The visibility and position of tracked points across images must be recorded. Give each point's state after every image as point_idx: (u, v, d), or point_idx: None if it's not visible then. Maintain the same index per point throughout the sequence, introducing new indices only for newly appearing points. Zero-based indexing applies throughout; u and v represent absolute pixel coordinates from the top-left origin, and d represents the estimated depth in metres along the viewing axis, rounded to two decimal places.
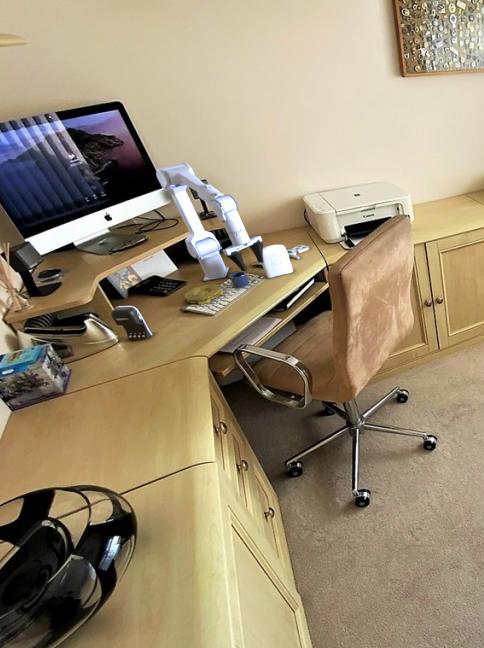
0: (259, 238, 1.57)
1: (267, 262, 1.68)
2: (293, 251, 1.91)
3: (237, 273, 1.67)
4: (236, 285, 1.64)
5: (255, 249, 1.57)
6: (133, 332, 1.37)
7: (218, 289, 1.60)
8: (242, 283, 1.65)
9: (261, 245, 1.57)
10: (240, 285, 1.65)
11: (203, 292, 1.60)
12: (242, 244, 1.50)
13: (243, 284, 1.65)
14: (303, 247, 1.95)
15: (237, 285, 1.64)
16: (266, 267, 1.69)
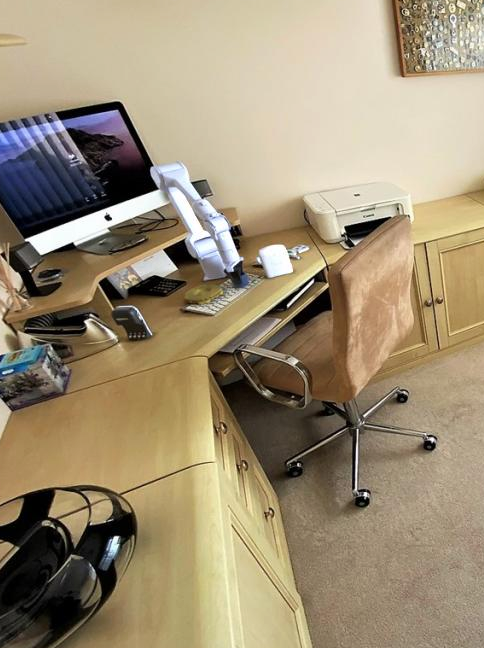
0: None
1: (267, 262, 1.68)
2: (293, 251, 1.91)
3: None
4: (236, 285, 1.64)
5: (236, 265, 1.66)
6: (133, 332, 1.37)
7: (218, 289, 1.60)
8: (242, 283, 1.65)
9: (242, 261, 1.67)
10: (240, 285, 1.65)
11: (203, 292, 1.60)
12: (237, 260, 1.61)
13: (243, 284, 1.65)
14: (303, 247, 1.95)
15: (237, 285, 1.64)
16: (266, 267, 1.69)
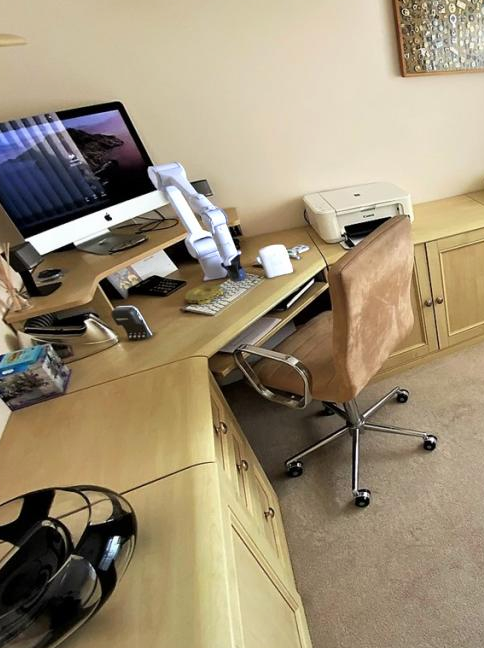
0: None
1: (267, 262, 1.68)
2: (293, 251, 1.91)
3: None
4: (234, 279, 1.63)
5: (234, 259, 1.65)
6: (133, 332, 1.37)
7: (218, 289, 1.60)
8: (240, 278, 1.64)
9: (240, 254, 1.66)
10: (238, 279, 1.63)
11: (203, 292, 1.60)
12: (235, 253, 1.59)
13: (241, 278, 1.64)
14: (303, 247, 1.95)
15: (234, 279, 1.63)
16: (266, 267, 1.69)
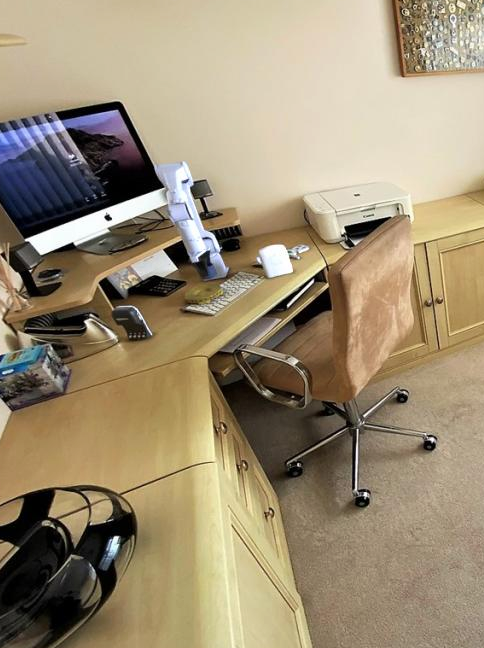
0: None
1: (267, 262, 1.68)
2: (293, 251, 1.91)
3: None
4: None
5: (203, 256, 1.57)
6: (133, 332, 1.37)
7: (218, 289, 1.60)
8: (209, 275, 1.56)
9: (210, 251, 1.58)
10: (207, 277, 1.56)
11: (203, 292, 1.60)
12: (203, 250, 1.52)
13: (210, 276, 1.56)
14: (303, 247, 1.95)
15: (204, 277, 1.56)
16: (266, 267, 1.69)
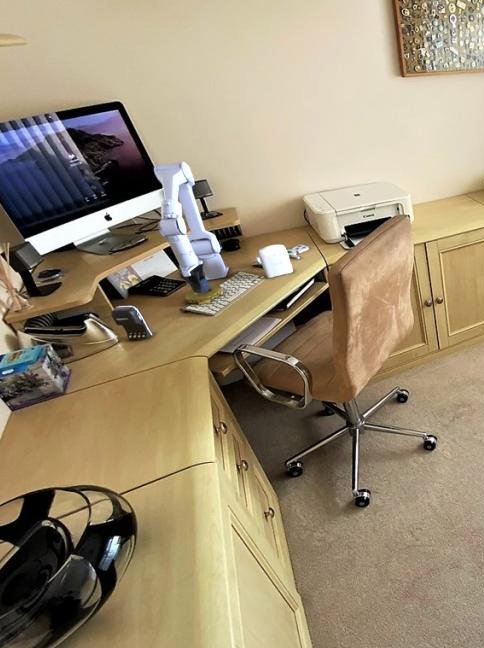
0: (196, 257, 1.58)
1: (267, 262, 1.68)
2: (293, 251, 1.91)
3: None
4: (196, 290, 1.56)
5: (196, 269, 1.57)
6: (133, 332, 1.37)
7: (218, 289, 1.60)
8: (202, 288, 1.56)
9: (203, 264, 1.58)
10: (200, 290, 1.56)
11: (203, 292, 1.60)
12: (196, 263, 1.52)
13: (203, 289, 1.56)
14: (303, 247, 1.95)
15: (196, 290, 1.56)
16: (266, 267, 1.69)
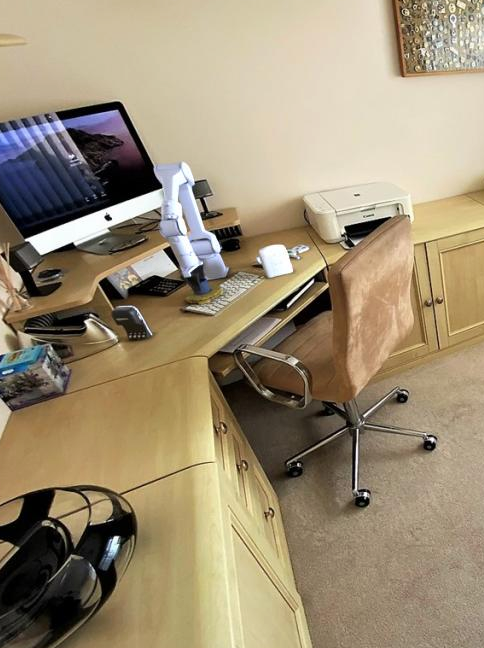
0: (197, 258, 1.58)
1: (267, 262, 1.68)
2: (293, 251, 1.91)
3: None
4: (197, 292, 1.56)
5: (196, 269, 1.58)
6: (133, 332, 1.37)
7: (218, 289, 1.60)
8: (203, 290, 1.56)
9: (203, 264, 1.59)
10: (200, 292, 1.56)
11: None
12: (196, 264, 1.52)
13: (204, 291, 1.57)
14: (303, 247, 1.95)
15: (197, 292, 1.56)
16: (266, 267, 1.69)
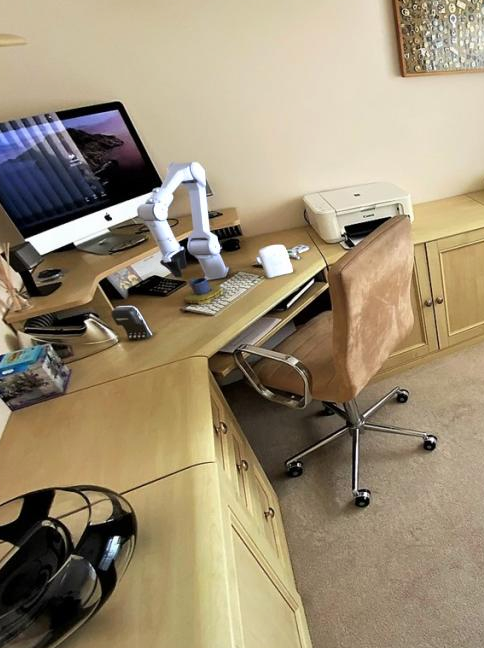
0: (178, 244, 1.57)
1: (267, 262, 1.68)
2: (293, 251, 1.91)
3: (198, 279, 1.58)
4: (197, 292, 1.56)
5: (178, 255, 1.57)
6: (133, 332, 1.37)
7: (218, 289, 1.60)
8: (203, 290, 1.56)
9: None
10: (200, 292, 1.56)
11: None
12: (176, 249, 1.51)
13: (204, 291, 1.57)
14: (303, 247, 1.95)
15: (197, 292, 1.56)
16: (266, 267, 1.69)
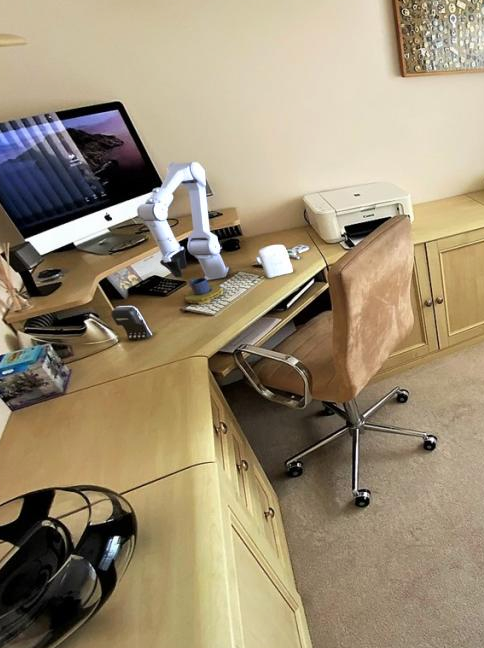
0: (178, 244, 1.57)
1: (267, 262, 1.68)
2: (293, 251, 1.91)
3: (198, 279, 1.58)
4: (197, 292, 1.56)
5: (178, 255, 1.57)
6: (133, 332, 1.37)
7: (218, 289, 1.60)
8: (203, 290, 1.56)
9: None
10: (200, 292, 1.56)
11: None
12: (176, 249, 1.51)
13: (204, 291, 1.57)
14: (303, 247, 1.95)
15: (197, 292, 1.56)
16: (266, 267, 1.69)
